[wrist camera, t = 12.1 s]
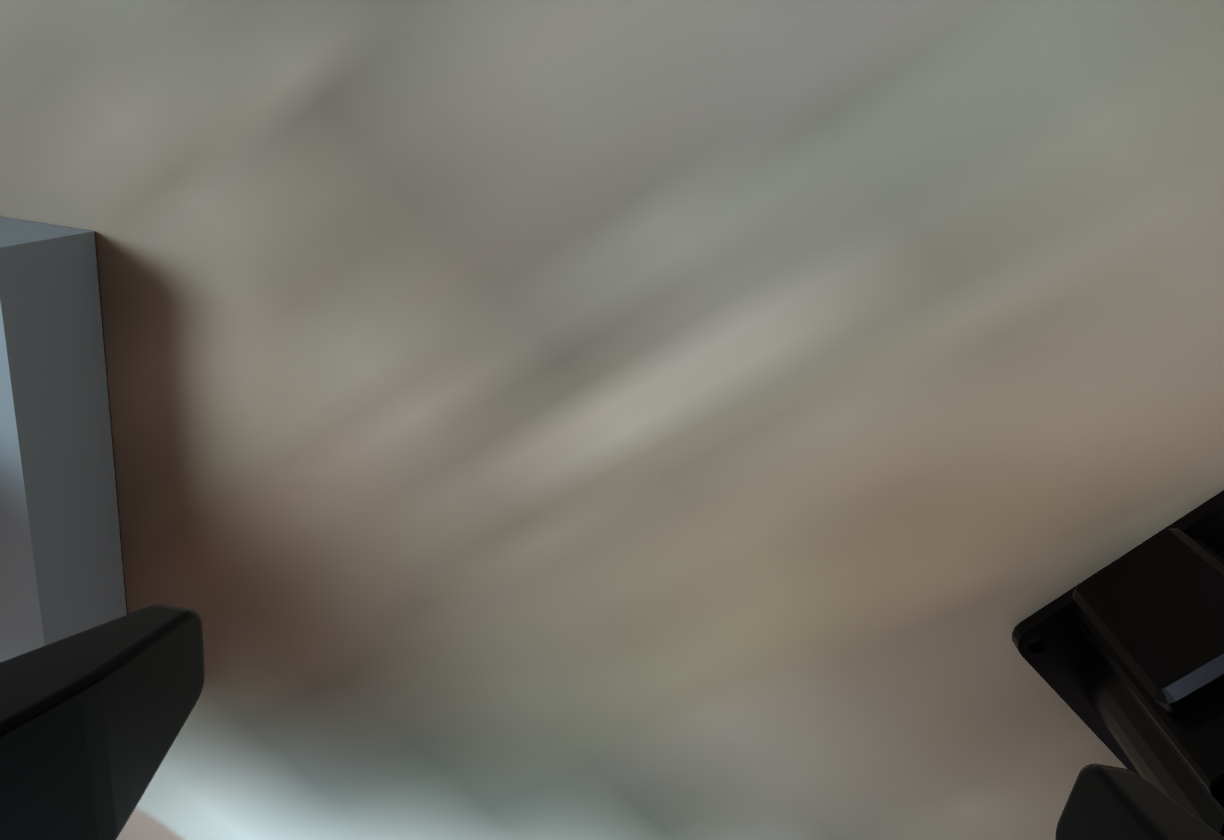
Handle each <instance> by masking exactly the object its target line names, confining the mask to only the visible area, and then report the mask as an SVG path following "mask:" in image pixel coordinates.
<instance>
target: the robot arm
mask: <svg viewBox="0 0 1224 840" xmlns="http://www.w3.org/2000/svg"><path fill="white" fill-rule="evenodd" d="M1036 636H1043V637H1042V639H1041V640H1040V641H1039V642H1036V643H1034V644H1033V643H1029V641H1030V640H1031V639H1032V638H1033V637H1036ZM1012 640H1013V642H1014V644H1015V646H1016V647H1017V649H1018V650H1019V652H1020V654H1021V655H1022V656H1023V657H1024V658H1025V660H1026V661H1027V662H1028V663H1029V664H1030V665H1031V666H1032V667H1033V668H1034V669H1035V670H1036V671H1037V672H1038V673H1039V674H1040V676H1041V677H1042V678H1043V679H1044V680H1045V681H1046V682H1047V683H1048V684H1049V685H1050V686H1051V687H1052V688H1053V689H1054V690H1055V692H1056V693H1057V694H1058V695H1059V696H1060V697H1061V698H1062V699H1063V700H1064V701H1065V702H1066V703H1067V704H1068V705H1069V706H1070V708H1071V709H1072V710H1073V711H1074V712H1075V713H1076V714H1077V715H1078V716H1079V717H1080V718H1081V719H1082V720H1083V721H1084V722H1085V724H1086V725H1087V726H1088V727H1089V728H1090V729H1091V730H1092V731H1093V732H1094V733H1095V734H1096V735H1097V736H1098V737H1099V738H1100V740H1101V741H1102V742H1103V743H1104V744H1105V745H1106V746H1107V747H1108V748H1109V749H1110V750H1111V751H1112V752H1113V753H1114V754H1115V756H1116V757H1117V758H1118V759H1119V760H1120V761H1121V762H1122V763H1123V764H1124V765H1125V766H1126V767H1127V768H1128V769H1129V770H1128V769H1123V768H1118V767H1112V766H1106V765H1100V764H1090V765H1087V766H1085V767H1084V768H1083V769H1082V770H1081V771H1080V773H1079V775H1078V777H1077V779H1076V782H1075V784H1074V786H1073V789H1072V791H1071V793H1070V796H1069V798H1068V800H1067V803H1066V805H1065V807H1064V810H1063V812H1062V814H1061V817H1060V819H1059V822H1058V825H1057V829H1056V840H1224V491H1222V492H1220V493H1219V494H1217V495H1216V496H1214V497H1213V498H1211V499H1210V500H1208V501H1207V502H1205V503H1203V504H1202V505H1200V506H1199V507H1197V508H1196V509H1194V510H1193V511H1191V512H1190V513H1188V514H1187V515H1185V516H1183V517H1182V518H1180V519H1179V520H1177V521H1176V522H1174V523H1173V524H1171V525H1170V526H1168V527H1167V528H1165V529H1163V530H1162V531H1160V532H1159V533H1157V534H1156V535H1154V536H1152V537H1151V538H1149V539H1148V540H1146V541H1145V542H1143V543H1142V544H1140V545H1139V546H1137V547H1136V548H1134V549H1132V550H1131V551H1129V552H1128V553H1126V554H1125V555H1123V556H1122V557H1120V558H1119V559H1117V560H1116V561H1114V562H1112V563H1111V564H1109V565H1108V566H1106V567H1105V568H1103V569H1102V570H1100V571H1099V572H1097V573H1095V574H1094V575H1092V576H1091V577H1089V578H1088V579H1086V580H1085V581H1083V582H1082V583H1080V584H1079V585H1077V586H1076V587H1074V588H1073V589H1071V590H1069V591H1068V592H1066V593H1065V594H1063V595H1062V596H1060V597H1059V598H1057V599H1056V600H1054V601H1053V602H1051V603H1049V604H1048V605H1046V606H1045V607H1043V608H1042V609H1040V610H1039V611H1037V612H1036V613H1034V614H1033V615H1031V616H1029V617H1028V618H1026V619H1025V620H1023V621H1022V622H1020V623H1019V624H1018V625H1017V626H1016V627H1015V629H1014V631H1013V633H1012ZM204 674H205V672H204V652H203V631H202V621H201V618H200V615H199V614H198V613H197V612H196V611H195V610H193V609H189V608H183V607H177V606H171V605H165V604H156V605H152V606H149V607H147V608H144V609H141V610H139V611H136V612H133V613H131V614H128V615H125V616H123V617H120V618H117V619H115V620H112V621H109V622H107V623H104V624H101V625H99V626H96V627H93V628H91V629H88V630H85V631H83V632H80V633H77V634H75V635H72V636H69V637H66V638H64V639H61V640H58V641H56V642H53V643H50V644H48V645H45V646H42V647H40V648H37V649H34V650H32V651H29V652H26V653H24V654H21V655H18V656H16V657H13V658H10V659H8V660H5V661H2V662H0V840H116V839H117V837H118V836H119V834H120V832H121V831H122V829H123V827H124V826H125V824H126V822H127V821H128V819H129V818H130V815H132V813H133V811H134V809H135V808H136V806H137V804H138V802H139V801H140V799H141V797H142V796H143V794H144V792H145V790H146V789H147V787H148V785H149V784H150V782H151V780H152V778H153V777H154V775H155V773H156V771H157V770H158V768H159V766H160V765H161V763H162V761H163V759H164V758H165V756H166V754H167V752H168V751H169V749H170V747H171V746H172V744H173V742H174V740H175V739H176V737H177V735H178V733H179V732H180V730H181V728H182V727H183V725H184V723H185V721H186V720H187V718H188V716H189V714H190V713H191V711H192V709H193V708H194V706H195V704H196V702H197V700H198V698H199V696H200V694H201V691H202V688H203V684H204Z"/></svg>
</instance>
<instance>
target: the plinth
mask: <svg viewBox="0 0 1224 840" xmlns="http://www.w3.org/2000/svg"><path fill="white" fill-rule="evenodd" d="M125 615H127V611H126V599H125V588H124V576H123V564H122V552H121V541H120V529H119V517H118V505H117V494H116V482H115V470H114V458H113V447H112V435H111V423H110V412H109V400H108V388H107V376H106V365H105V353H104V341H103V329H102V318H101V306H100V294H99V282H98V271H97V259H96V247H95V236H94V231H89V230H83V229H76V228H70V227H63V226H57V225H50V224H44V223H38V222H31V221H25V220H18V219H12V218H5V217H0V662H2V661H5V660H8V659H10V658H13V657H16V656H18V655H21V654H24V653H26V652H29V651H32V650H34V649H37V648H40V647H42V646H45V645H48V644H50V643H53V642H56V641H58V640H61V639H64V638H66V637H69V636H72V635H75V634H77V633H80V632H83V631H85V630H88V629H91V628H93V627H96V626H99V625H101V624H104V623H107V622H109V621H112V620H115V619H117V618H120V617H123V616H125Z"/></svg>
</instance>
